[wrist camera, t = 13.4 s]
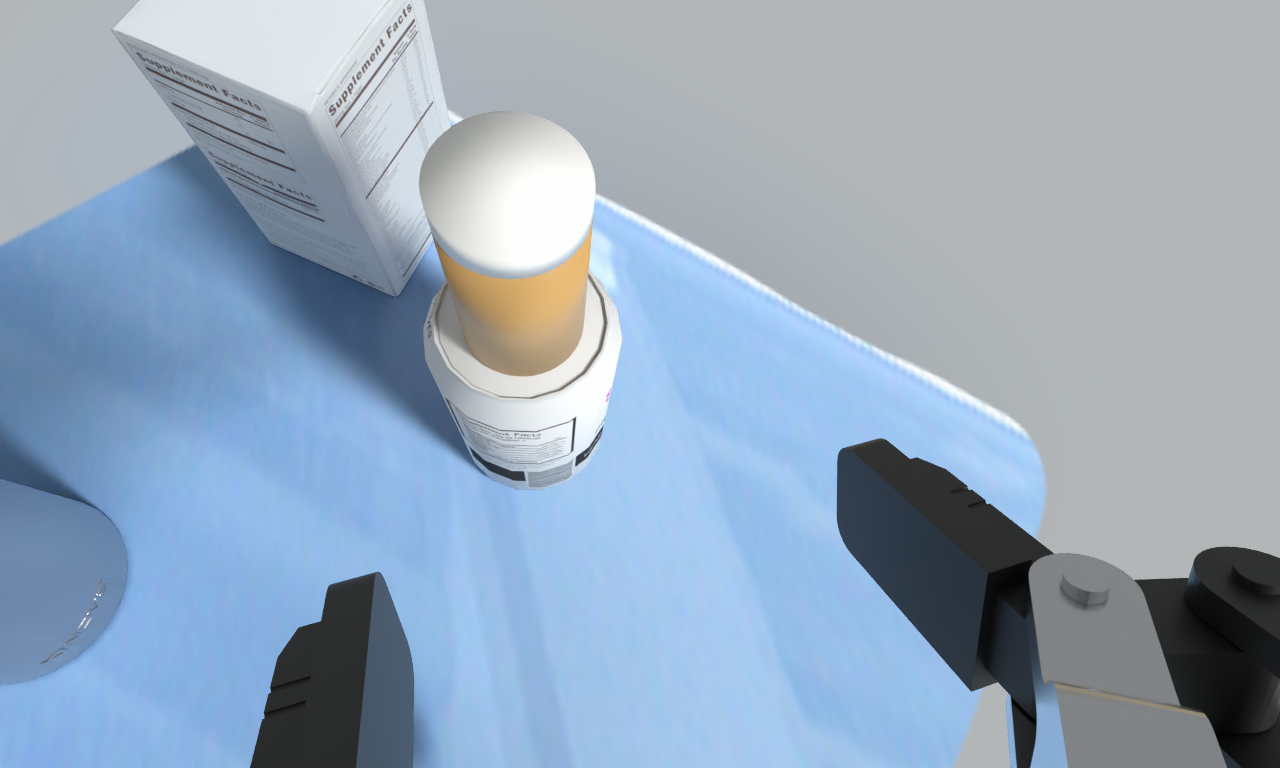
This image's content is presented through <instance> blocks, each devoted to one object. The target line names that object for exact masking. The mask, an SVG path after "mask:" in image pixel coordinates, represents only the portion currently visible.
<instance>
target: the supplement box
mask: <svg viewBox="0 0 1280 768" xmlns="http://www.w3.org/2000/svg"><path fill="white" fill-rule="evenodd" d="M112 32H113V34H114V35H115V36H116V38H117V39H118V40H119V42H120V44H121V45H122V46H123V47H124V49H125V50H126V51H127V53H128V54H129V55H130V57H131V58H132V59H133V61H134V62H135V63H136V65H137V66H138V67H139V69H140V70H141V71H142V73H143V74H144V75H145V77H146V78H147V79H148V80H149V82H150V83H151V85H152V86H153V87H154V89H155V90H156V91H157V92H158V94H159V95H160V97H161V98H162V99H163V101H164V102H165V103H166V105H167V106H168V107H169V108H170V110H171V111H172V112H173V114H174V115H175V116H176V118H177V119H178V120H179V121H180V123H181V124H182V126H183V127H184V128H185V130H186V131H187V132H188V134H189V135H190V136H191V138H192V139H193V140H194V142H195V143H196V144H197V146H198V147H199V148H200V150H201V151H202V152H203V154H204V155H205V156H206V158H207V159H208V160H209V162H210V163H211V164H212V166H213V167H214V168H215V170H216V171H217V172H218V174H219V175H220V176H221V178H222V179H223V180H224V182H225V183H226V184H227V186H228V187H229V188H230V190H231V191H232V192H233V193H234V195H235V196H236V197H237V199H238V200H239V201H240V203H241V204H242V205H243V207H244V208H245V209H246V211H247V212H248V213H249V215H250V216H251V217H252V219H253V220H254V221H255V223H256V224H257V225H258V227H259V228H260V229H261V231H262V232H263V233H264V235H265V236H266V237H267V239H268V240H269V241H270V243H272V244H274V245H276V246H278V247H280V248H283V249H285V250H287V251H289V252H292V253H294V254H296V255H299V256H301V257H303V258H306V259H308V260H310V261H313V262H315V263H317V264H319V265H322V266H324V267H326V268H329V269H331V270H333V271H336V272H338V273H340V274H343V275H345V276H347V277H350V278H352V279H354V280H356V281H359V282H361V283H363V284H366V285H368V286H370V287H373V288H375V289H378V290H380V291H382V292H384V293H387V294H389V295H391V296H394V297H397V296H399V294H400V293H401V291H402V290H403V288H404V287H405V285H406V283H407V282H408V280H409V279H410V277H411V275H412V274H413V272H414V270H415V269H416V267H417V266H418V264H419V262H420V261H421V259H422V257H423V256H424V254H425V252H426V251H427V249H428V248H429V246H430V244H431V243H432V241H433V236H432V233H431V230H430V226H429V223H428V220H427V217H426V214H425V211H424V207H423V204H422V201H421V196H420V191H419V175H420V170H421V166H422V163H423V160H424V158H425V155H426V154H427V152H428V150H429V149H430V147H431V146H432V144H433V143H434V142H435V141H436V139H437V138H438V137H439V136H441V135H442V134H443V133H444V132H445V131H446V130H448V129H449V128H450V127H451V124H450V120H449V116H448V111H447V106H446V102H445V97H444V93H443V89H442V85H441V79H440V74H439V69H438V64H437V60H436V56H435V51H434V46H433V41H432V37H431V32H430V28H429V23H428V19H427V14H426V9H425V6H424V0H139V1H138V2H137V3H136V4H135V5H134V6H133V7H132V8H131V9H130V10H129V11H128V12H127V13H126V14H125V15H124V16H123V18H121V20H120V21H119V22H118V23H117V24H116V25H115V26H114V27H113V28H112Z"/></svg>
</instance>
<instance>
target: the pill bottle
mask: <svg viewBox="0 0 1280 768" xmlns="http://www.w3.org/2000/svg"><path fill="white" fill-rule="evenodd" d="M419 191H420V196H421V201H422V204H423V207H424V211H425V214H426V217H427V220H428V223H429V226H430V230H431V233H432V236H433V239H434V242H435V246H436V249H437V252H438V255H439V258H440V262H441V265H442V268H443V271H444V274H445V278H446V281H447V284H448V287H449V290H450V294H451V297H452V300H453V303H454V306H455V310H456V313H457V316H458V319H459V322H460V325H461V329H462V332H463V335H464V338H465V340H466V343H467V345H468V347H469V348H470V350H471V352H472V353H473V354H474V355H475V357H476V358H478V359H479V360H480V361H481V362H482V363H483V364H485V365H486V366H487V367H489V368H491V369H493V370H495V371H497V372H500V373H503V374H506V375H511V376H535V375H539V374H543V373H545V372H548V371H551V370H552V369H554V368H556V367H558V366H559V365H561V364H562V363H564V362H565V361H566V360H567V359H568V358H569V357H570V356H571V355H572V353H573V352H574V351H575V349H576V348H577V346H578V344H579V342H580V340H581V337H582V333H583V328H584V318H585V306H586V294H587V282H588V270H589V258H590V246H591V235H592V223H593V211H594V199H595V176H594V170H593V168H592V164H591V161H590V159H589V157H588V156H587V153H586V152H585V150H584V149H583V147H582V146H581V145H580V144H579V143H578V142H577V140H576V139H575V138H574V137H573V136H572V135H571V134H569V133H568V132H567V131H566V130H564V129H563V128H561V127H560V126H558V125H557V124H555V123H553V122H551V121H549V120H547V119H544V118H542V117H539V116H536V115H532V114H528V113H522V112H515V111H514V112H512V111H497V112H489V113H483V114H479V115H476V116H473V117H470V118H467V119H465V120H462V121H461V122H459V123H457V124H455V125H453V126H452V127H450V128H449V129H448V130H446V131H445V132H444V133H443V134H442V135H441V136H439V137H438V138H437V139H436V141H435V142H434V143H433V144H432V146H431V147H430V149H429V150H428V152H427V154H426V155H425V158H424V160H423V163H422V166H421V170H420V175H419Z"/></svg>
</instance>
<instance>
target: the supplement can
mask: <svg viewBox="0 0 1280 768" xmlns="http://www.w3.org/2000/svg"><path fill="white" fill-rule="evenodd" d="M423 335H424V350H425V361H426V363H427V365H428V367H429V369H430V371H431V373H432V376H433V378H434V380H435V382H436V384H437V386H438V388H439V390H440V392H441V394H442V396H443V398H444V401H445V403H446V405H447V407H448V409H449V411H450V413H451V415H452V417H453V419H454V421H455V423H456V426H457V428H458V430H459V432H460V434H461V436H462V438H463V440H464V442H465V444H466V446H467V448H468V450H469V452H470V454H471V456H472V458H473V460H474V462H475V464H476V465H477V466H478V467H479V468H480V469H482V470H483V471H484V472H485V473H486V474H487V475H488V476H489V477H490V478H491V479H492V480H494V481H496V482H499V483H501V484H504V485H507V486H509V487H512V488H514V489H517V490H544V489H548V488H551V487H554V486H557V485H560V484H563V483H566V482H567V481H569V480H570V479H571V478H573V477H574V476H575V475H577V474H578V473H579V472H581V471H582V470H583V469H585V468H586V466H587V465H588V463H589V462H590V460H591V459H592V457H593V455H594V454H595V452H596V451H597V449H598V448H599V443H600V439H601V434H602V430H603V425H604V421H605V416H606V412H607V407H608V402H609V398H610V393H611V389H612V384H613V380H614V375H615V371H616V366H617V361H618V357H619V352H620V347H621V343H622V335H621V329H620V323H619V317H618V311H617V308H616V306H615V305H614V303H613V301H612V300H611V298H610V296H609V294H608V293H607V291H606V289H605V288H604V286H603V284H602V283H601V282H600V281H599V280H598V279H597V278H595V277H594V276H593V274H592V273H591V272H590V271H589V270H588V282H587V294H586V306H585V318H584V328H583V333H582V337H581V340H580V342H579V344H578V346H577V348H576V349H575V351H574V352H573V353H572V355H571V356H570V357H569V358H568V359H567V360H566V361H565V362H564V363H562V364H561V365H559V366H558V367H556V368H554V369H552V370H551V371H548V372H545V373H543V374H539V375H535V376H511V375H506V374H503V373H500V372H497V371H495V370H493V369H491V368H489V367H487V366H486V365H485V364H483V363H482V362H481V361H480V360H479V359H478V358H476V357H475V355H474V354H473V353H472V352H471V350H470V348H469V347H468V345H467V343H466V340H465V338H464V335H463V332H462V329H461V325H460V322H459V319H458V316H457V313H456V310H455V306H454V303H453V300H452V297H451V294H450V290H449V287H448V284H447V281H445V282H444V284H443V285H442V286H441V288H440V290H439V291H438V293H437V294H436V295H435V296H434V298H433V300H432V303H431V306H430V309H429V312H428V315H427V318H426V321H425V324H424V327H423Z"/></svg>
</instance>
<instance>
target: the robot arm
mask: <svg viewBox="0 0 1280 768" xmlns="http://www.w3.org/2000/svg"><path fill="white" fill-rule="evenodd" d="M837 523H838V528H839V531H840V534H841V537H842V539H843V542H844V544H845V545H846V547H847V549H848V550H849V551H850V553H851V554H852V555H853V556H854V557H855V558H856V560H857V561H858V562H859V563H860V564H861V565H862V567H863V568H864V569H865V570H866V571H867V572H868V573H869V575H870V576H871V577H872V578H873V579H874V580H875V581H876V583H877V584H878V585H879V586H880V587H881V588H882V590H883V591H884V592H885V593H886V594H887V595H888V596H889V598H890V599H891V600H892V601H893V602H894V603H895V604H896V606H897V607H898V608H899V609H900V610H901V611H902V613H903V614H904V615H905V616H906V617H907V618H908V619H909V621H910V622H911V623H912V624H913V625H914V626H915V627H916V629H917V630H918V631H919V632H920V633H921V634H922V636H923V637H924V638H925V639H926V640H927V641H928V642H929V644H930V645H931V646H932V647H933V648H934V649H935V650H936V652H937V653H938V654H939V655H940V656H941V657H942V659H943V660H944V661H945V662H946V663H947V664H948V665H949V667H950V668H951V669H952V670H953V671H954V672H955V673H956V675H957V676H958V677H959V678H960V679H961V680H962V682H963V683H964V684H965V685H966V686H967V687H968V688H969V690H970V691H971V692H972V691H974V690H977V689H980V688H983V687H986V686H988V685H991V684H994V683H997V682H998V683H999V684H1000V685H1001V686H1002V687H1003V688H1004V689H1005V690H1006V691H1007V692H1008V695H1007V701H1006V715H1007V716H1006V717H1007V729H1008V742H1009V754H1010V767H1011V768H1280V558H1278V557H1275V556H1272V555H1270V554H1266V553H1263V552H1260V551H1256V550H1251V549H1246V548H1239V547H1216V548H1210V549H1207V550H1205V551H1202V552H1201V553H1200V554H1198V555H1197V557H1196V558H1195V560H1194V563H1193V566H1192V569H1191V572H1190V576H1189V578H1178V579H1177V578H1174V579H1149V580H1148V579H1147V580H1133V579H1132V578H1131V577H1130V576H1129V575H1127V574H1126V573H1124V571H1122V570H1120V569H1119V568H1117V567H1115V566H1113V565H1111V564H1109V563H1107V562H1105V561H1102V560H1099V559H1096V558H1092V557H1089V556H1085V555H1080V554H1070V553H1059V554H1054V553H1052V552H1051V551H1050V550H1049V549H1047V548H1046V547H1045V546H1044V545H1042V544H1041V543H1040V542H1038V541H1037V540H1036V539H1035V538H1033V537H1032V536H1031V535H1029V534H1028V533H1027V532H1026V531H1024V530H1023V529H1022V528H1020V527H1019V526H1018V525H1017V524H1015V523H1014V522H1013V521H1011V520H1010V519H1009V518H1008V517H1006V516H1005V515H1004V514H1003V513H1001V512H1000V511H999V510H997V509H996V508H995V507H994V506H992V505H991V504H986V502H985V499H983V498H982V497H981V496H979V495H978V494H977V493H976V492H974V491H973V490H968V487H967V485H965V484H964V483H963V482H961V481H960V480H959V479H958V478H956V477H955V476H954V475H952V474H951V473H950V472H949V471H947V470H946V469H944V468H941V467H939V466H937V465H934V464H932V463H929V462H927V461H924V460H922V459H919V458H917V457H916V458H913V459H909V458H908V457H907V456H905V455H904V454H903V453H902V452H901V451H899V450H898V449H897V448H896V447H894V446H893V445H892V444H891V443H889V442H888V441H887V440H885V439H881V438H880V439H876V440H872V441H868V442H864V443H861V444H857V445H853V446H850V447H846V448H843V449H841V450H840V452H839V454H838V461H837ZM127 572H128V563H127V552H126V548H125V545H124V543H123V540H122V537H121V534H120V533H119V531H118V530H117V529H116V527H115V526H114V524H113V523H112V521H111V520H110V519H108V518H107V517H106V516H105V515H104V514H103V513H101V512H100V511H99V510H98V509H96V508H93V507H91V506H89V505H87V504H85V503H83V502H80V501H76V500H73V499H69V498H66V497H62V496H59V495H55V494H52V493H48V492H44V491H41V490H37V489H34V488H31V487H28V486H24V485H21V484H17V483H14V482H10V481H7V480H3V479H0V685H6V684H14V683H19V682H24V681H29V680H33V679H36V678H38V677H41V676H44V675H46V674H49V673H51V672H54V671H56V670H57V669H59V668H61V667H62V666H64V665H66V664H67V663H69V662H71V661H72V660H74V659H75V658H76V657H78V656H79V655H80V654H81V653H82V652H84V651H85V650H86V649H87V648H88V647H89V646H91V645H92V644H93V643H94V642H95V640H96V639H97V638H98V637H99V636H100V634H101V633H102V632H103V631H104V630H105V628H106V627H107V626H108V624H109V623H110V621H111V619H112V617H113V616H114V614H115V612H116V611H117V609H118V607H119V604H120V601H121V599H122V596H123V593H124V590H125V587H126V580H127ZM270 689H271V693H269V694H268V698H267V702H266V706H265V710H264V715H265V719H262V722H261V726H260V730H259V734H258V738H257V742H256V746H255V750H254V754H253V758H252V762H251V766H250V768H412V762H413V710H414V672H413V664H412V658H411V653H410V648H409V645H408V641H407V639H406V636H405V633H404V630H403V628H402V625H401V622H400V620H399V617H398V614H397V612H396V609H395V606H394V604H393V601H392V598H391V595H390V593H389V590H388V587H387V585H386V582H385V580H384V578H383V576H382V574H381V573H380V572H375V573H372V574H368V575H364V576H360V577H357V578H353V579H349V580H346V581H342V582H338V583H334V584H331V585H329V587H328V589H327V593H326V598H325V604H324V609H323V614H322V620H321V622H317V623H313V624H310V625H306V626H303V627H299V628H298V629H297V631H296V632H295V634H294V635H293V636H292V638H291V639H290V641H289V642H288V643H287V645H286V646H285V648H284V649H283V651H282V652H281V653H280V655H279V656H278V658H277V662H276V666H275V670H274V674H273V678H272V682H271V686H270Z"/></svg>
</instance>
